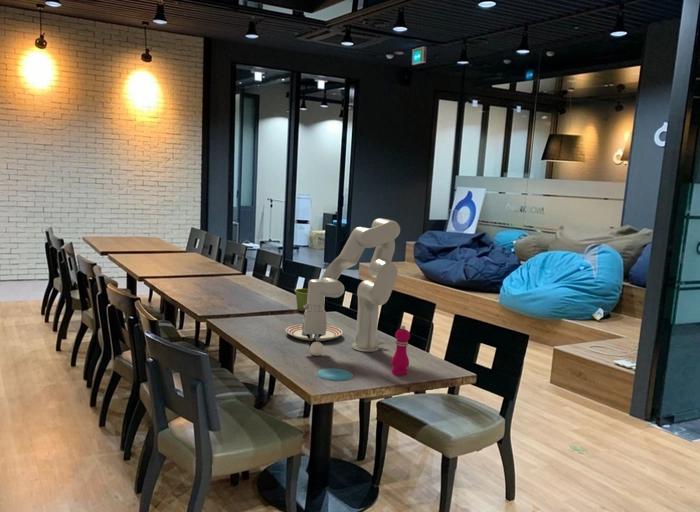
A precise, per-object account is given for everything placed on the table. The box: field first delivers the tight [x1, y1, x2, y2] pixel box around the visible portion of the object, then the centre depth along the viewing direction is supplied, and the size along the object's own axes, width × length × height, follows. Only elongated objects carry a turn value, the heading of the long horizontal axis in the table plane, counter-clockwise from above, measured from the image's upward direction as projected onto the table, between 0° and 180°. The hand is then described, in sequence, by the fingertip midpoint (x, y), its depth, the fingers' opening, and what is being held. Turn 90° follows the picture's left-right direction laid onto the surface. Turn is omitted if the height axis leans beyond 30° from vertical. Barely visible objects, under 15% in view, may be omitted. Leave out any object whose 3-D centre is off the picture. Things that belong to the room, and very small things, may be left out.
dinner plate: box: [285, 323, 343, 342], centre depth 292 cm, size 27×27×3 cm
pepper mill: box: [390, 325, 411, 376], centre depth 244 cm, size 7×7×20 cm
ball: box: [309, 341, 325, 357], centre depth 261 cm, size 6×6×6 cm
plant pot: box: [294, 288, 308, 312], centre depth 344 cm, size 12×12×11 cm
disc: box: [316, 367, 354, 382], centre depth 238 cm, size 14×14×1 cm
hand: (312, 348), depth 266 cm, fingers closed
